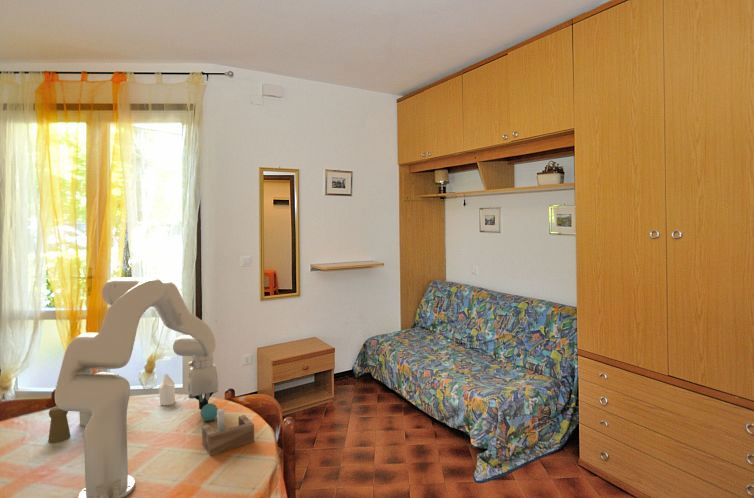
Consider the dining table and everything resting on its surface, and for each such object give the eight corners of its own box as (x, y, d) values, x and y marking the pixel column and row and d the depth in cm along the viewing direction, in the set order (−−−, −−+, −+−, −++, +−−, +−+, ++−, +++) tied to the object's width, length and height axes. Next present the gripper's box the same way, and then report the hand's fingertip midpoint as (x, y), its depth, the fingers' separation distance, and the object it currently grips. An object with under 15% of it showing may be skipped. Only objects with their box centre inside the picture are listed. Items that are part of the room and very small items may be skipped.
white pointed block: (171, 376, 166) (156, 376, 165) (172, 405, 166) (157, 406, 165) (176, 371, 172) (161, 372, 171) (176, 399, 172) (162, 400, 171)
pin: (225, 434, 142) (225, 410, 141) (218, 436, 140) (218, 412, 140) (223, 432, 143) (223, 408, 143) (216, 434, 142) (216, 409, 142)
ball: (220, 420, 152) (219, 404, 152) (203, 425, 149) (202, 408, 148) (215, 415, 157) (215, 399, 157) (198, 419, 153) (198, 403, 153)
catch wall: (254, 442, 137) (253, 424, 136) (210, 456, 128) (210, 437, 128) (244, 431, 144) (244, 414, 143) (202, 444, 135) (201, 426, 135)
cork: (44, 440, 138) (43, 408, 138) (64, 432, 143) (63, 401, 143) (53, 444, 135) (52, 411, 135) (74, 436, 141) (73, 405, 140)
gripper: (184, 369, 150) (185, 419, 151) (225, 361, 160) (226, 408, 160) (179, 364, 156) (180, 412, 157) (219, 357, 165) (220, 402, 166)
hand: (203, 410), depth 158 cm, fingers closed
